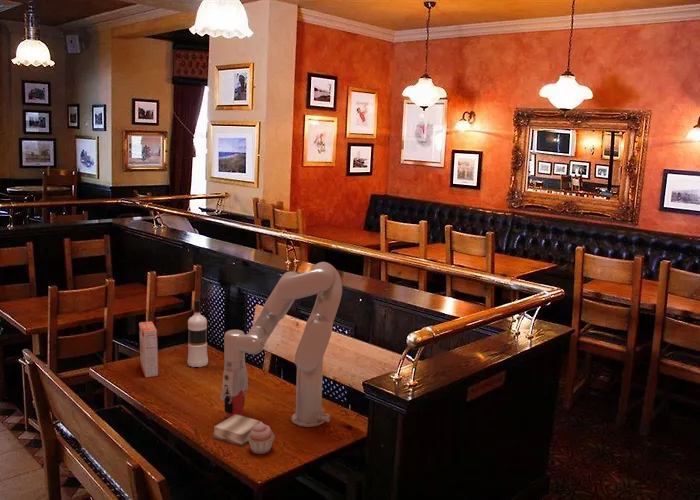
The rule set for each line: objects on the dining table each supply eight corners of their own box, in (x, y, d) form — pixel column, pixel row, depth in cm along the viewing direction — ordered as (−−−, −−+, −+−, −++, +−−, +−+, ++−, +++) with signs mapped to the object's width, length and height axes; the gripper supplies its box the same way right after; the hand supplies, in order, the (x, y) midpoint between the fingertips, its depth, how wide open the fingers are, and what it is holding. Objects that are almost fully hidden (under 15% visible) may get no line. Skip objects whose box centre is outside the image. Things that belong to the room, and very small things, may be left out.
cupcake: (274, 442, 227) (274, 415, 225) (275, 456, 218) (275, 427, 216) (246, 443, 225) (246, 416, 223) (246, 457, 216) (246, 429, 214)
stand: (263, 431, 234) (263, 421, 234) (242, 446, 223) (242, 435, 223) (235, 423, 240) (235, 413, 239) (213, 437, 229) (213, 426, 228)
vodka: (184, 367, 293) (183, 302, 288) (191, 360, 302) (190, 297, 297) (204, 368, 292) (204, 303, 287) (210, 361, 301) (210, 298, 296)
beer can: (239, 421, 242) (239, 390, 240) (223, 419, 243) (222, 388, 241) (246, 414, 248) (246, 384, 246) (229, 412, 249) (229, 382, 247)
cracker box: (139, 367, 292) (138, 321, 288) (153, 365, 294) (152, 320, 290) (144, 378, 279) (142, 331, 275) (158, 376, 282) (157, 329, 278)
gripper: (228, 372, 233) (228, 420, 236) (256, 358, 248) (256, 403, 251) (211, 368, 236) (211, 415, 239) (240, 354, 251) (240, 398, 254)
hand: (234, 408), depth 245 cm, fingers closed on beer can, 6 cm apart
